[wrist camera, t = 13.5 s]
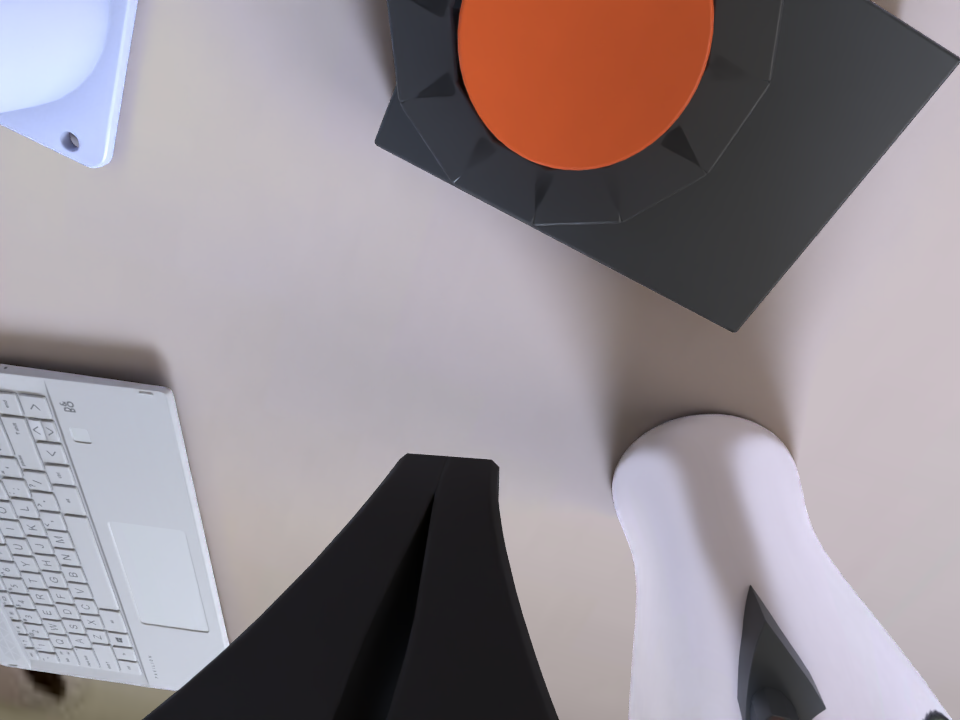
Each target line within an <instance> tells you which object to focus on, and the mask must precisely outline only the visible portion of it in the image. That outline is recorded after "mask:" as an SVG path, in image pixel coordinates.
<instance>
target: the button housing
mask: <svg viewBox="0 0 960 720" xmlns="http://www.w3.org/2000/svg"><path fill="white" fill-rule="evenodd" d="M461 3H462V0H387V7H388V16H389V24H390V32H391V41H392V49H393V57H394V66H395V74H396V82H397V84H396V87H395V89H394V92H393V95H392V97H391V100H390V102H389V105H388V107H387V110H386V113H385V115H384V118H383V120H382V123H381V126H380V128H379V131H378V133H377V136H376V139H375V144H376V145H377V146H379V147H381V148H382V149H384V150H386V151H388V152H390V153H392V154H394V155H396V156H398V157H400V158H402V159H403V160H405V161H407V162H409V163H411V164H413V165H415V166H417V167H419V168H421V169H422V170H424V171H426V172H428V173H430V174H432V175H434V176H436V177H438V178H440V179H441V180H443V181H445V182H447V183H449V184H451V185H453V186H455V187H457V188H459V189H461V190H462V191H464V192H466V193H468V194H470V195H472V196H474V197H476V198H478V199H480V200H481V201H483V202H485V203H487V204H489V205H491V206H493V207H495V208H497V209H499V210H500V211H502V212H504V213H506V214H508V215H510V216H512V217H514V218H516V219H518V220H520V221H521V222H523V223H525V224H527V225H529V226H531V227H533V228H535V229H537V230H539V231H540V232H542V233H544V234H546V235H548V236H550V237H552V238H554V239H556V240H558V241H560V242H561V243H563V244H565V245H567V246H569V247H571V248H573V249H575V250H577V251H579V252H580V253H582V254H584V255H586V256H588V257H590V258H592V259H594V260H596V261H598V262H599V263H601V264H603V265H605V266H607V267H609V268H611V269H613V270H615V271H617V272H619V273H620V274H622V275H624V276H626V277H628V278H630V279H632V280H634V281H636V282H638V283H639V284H641V285H643V286H645V287H647V288H649V289H651V290H653V291H655V292H657V293H659V294H660V295H662V296H664V297H666V298H668V299H670V300H672V301H674V302H676V303H678V304H679V305H681V306H683V307H685V308H687V309H689V310H691V311H693V312H695V313H697V314H698V315H700V316H702V317H704V318H706V319H708V320H710V321H712V322H714V323H716V324H718V325H719V326H721V327H723V328H725V329H727V330H729V331H731V332H734V333H735V332H737V331H738V330H739V328H740V327H741V326H742V325H743V324H744V322H745V321H746V320H747V319H748V318H749V316H750V315H751V314H752V313H753V312H754V310H755V309H756V308H757V307H758V306H759V304H760V303H761V302H762V301H763V300H764V298H765V297H766V296H767V295H768V293H769V292H770V291H771V290H772V289H773V287H774V286H775V285H776V284H777V283H778V281H779V280H780V279H781V278H782V277H783V275H784V274H785V273H786V272H787V271H788V269H789V268H790V267H791V266H792V265H793V263H794V262H795V261H796V260H797V259H798V257H799V256H800V255H801V254H802V253H803V251H804V250H805V249H806V248H807V247H808V245H809V244H810V243H811V242H812V240H813V239H814V238H815V237H816V236H817V234H818V233H819V232H820V231H821V230H822V228H823V227H824V226H825V225H826V224H827V222H828V221H829V220H830V219H831V218H832V216H833V215H834V214H835V213H836V212H837V210H838V209H839V208H840V207H841V206H842V204H843V203H844V202H845V201H846V200H847V198H848V197H849V196H850V195H851V193H852V192H853V191H854V190H855V189H856V187H857V186H858V185H859V184H860V183H861V181H862V180H863V179H864V178H865V177H866V175H867V174H868V173H869V172H870V171H871V169H872V168H873V167H874V166H875V165H876V163H877V162H878V161H879V160H880V159H881V157H882V156H883V155H884V154H885V153H886V151H887V150H888V149H889V148H890V146H891V145H892V144H893V143H894V142H895V140H896V139H897V138H898V137H899V136H900V134H901V133H902V132H903V131H904V130H905V128H906V127H907V126H908V125H909V124H910V122H911V121H912V120H913V119H914V118H915V116H916V115H917V114H918V113H919V112H920V110H921V109H922V108H923V107H924V106H925V104H926V103H927V102H928V101H929V100H930V98H931V97H932V96H933V95H934V93H935V92H936V91H937V90H938V89H939V87H940V86H941V85H942V84H943V83H944V81H945V80H946V79H947V78H948V77H949V75H950V74H951V73H952V72H953V71H954V69H955V68H956V67H957V66H958V65H959V63H960V58H959V57H958V56H956V55H955V54H953V53H952V52H950V51H949V50H947V49H946V48H944V47H942V46H941V45H939V44H938V43H936V42H935V41H933V40H931V39H930V38H928V37H927V36H925V35H924V34H922V33H920V32H919V31H917V30H916V29H914V28H913V27H911V26H909V25H908V24H906V23H905V22H903V21H902V20H900V19H899V18H897V17H895V16H894V15H892V14H891V13H889V12H888V11H886V10H884V9H883V8H881V7H880V6H878V5H877V4H875V3H873V2H872V1H870V0H713V5H714V27H713V37H712V43H711V49H710V54H709V57H708V61H707V64H706V68H705V71H704V73H703V76H702V78H701V80H700V83H699V85H698V88H697V89H696V91H695V93H694V95H693V97H692V98H691V100H690V102H689V104H688V105H687V106H686V108H685V109H684V111H683V112H682V113H681V115H680V116H679V118H678V119H677V120H676V121H675V122H674V123H673V124H672V126H671V127H670V128H669V129H668V130H667V131H666V132H665V133H664V134H663V135H661V136H660V137H659V138H658V139H657V140H656V141H655V142H653V143H652V144H651V145H649V146H648V147H646V148H645V149H643V150H642V151H640V152H639V153H637V154H635V155H633V156H631V157H629V158H627V159H625V160H623V161H620V162H618V163H615V164H612V165H609V166H605V167H601V168H596V169H588V170H562V169H556V168H550V167H547V166H543V165H540V164H537V163H534V162H532V161H530V160H528V159H526V158H523V157H522V156H520V155H518V154H517V153H515V152H514V151H512V150H510V149H509V148H508V147H507V146H505V145H504V144H503V143H502V142H501V141H499V140H498V139H497V138H496V137H495V135H494V134H493V133H492V132H491V131H490V130H489V129H488V128H487V126H486V125H485V124H484V122H483V121H482V119H481V118H480V117H479V115H478V113H477V112H476V110H475V108H474V106H473V104H472V102H471V100H470V98H469V95H468V93H467V90H466V87H465V85H464V81H463V77H462V73H461V69H460V63H459V56H458V33H457V32H458V22H459V13H460V8H461Z"/></svg>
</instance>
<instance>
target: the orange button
mask: <svg viewBox="0 0 960 720" xmlns="http://www.w3.org/2000/svg"><path fill="white" fill-rule="evenodd" d="M713 27H714V5H713V0H462V3H461V8H460V13H459V22H458V32H457V33H458V56H459V63H460V69H461V73H462V77H463V81H464V85H465V87H466V90H467V93H468V95H469V98H470V100H471V102H472V104H473V106H474V108H475V110H476V112H477V113H478V115H479V117H480V118H481V119H482V121H483V122H484V124H485V125H486V126H487V128H488V129H489V130H490V131H491V132H492V133H493V134H494V135H495V137H496V138H497V139H498V140H499V141H501V142H502V143H503V144H504V145H505V146H507V147H508V148H509V149H510V150H512V151H514V152H515V153H517V154H518V155H520V156H522V157H523V158H526V159H528V160H530V161H532V162H534V163H537V164H540V165H543V166H547V167H550V168H556V169H562V170H588V169H596V168H601V167H605V166H609V165H612V164H615V163H618V162H620V161H623V160H625V159H627V158H629V157H631V156H633V155H635V154H637V153H639V152H640V151H642V150H643V149H645V148H646V147H648V146H649V145H651V144H652V143H653V142H655V141H656V140H657V139H658V138H659V137H660V136H661V135H663V134H664V133H665V132H666V131H667V130H668V129H669V128H670V127H671V126H672V124H673V123H674V122H675V121H676V120H677V119H678V118H679V116H680V115H681V113H682V112H683V111H684V109H685V108H686V106H687V105H688V104H689V102H690V100H691V98H692V97H693V95H694V93H695V91H696V89H697V88H698V85H699V83H700V80H701V78H702V76H703V73H704V71H705V68H706V64H707V61H708V57H709V54H710V49H711V43H712V37H713Z"/></svg>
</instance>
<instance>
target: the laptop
mask: <svg viewBox="0 0 960 720" xmlns="http://www.w3.org/2000/svg"><path fill="white" fill-rule="evenodd" d="M228 646H229V642H228V638H227V633H226V629H225V624H224V620H223V615H222V611H221V606H220V602H219V597H218V593H217V588H216V584H215V579H214V575H213V570H212V566H211V561H210V557H209V552H208V548H207V543H206V539H205V534H204V530H203V525H202V521H201V516H200V512H199V507H198V503H197V498H196V494H195V489H194V485H193V480H192V476H191V471H190V467H189V462H188V458H187V453H186V449H185V444H184V440H183V435H182V431H181V426H180V422H179V417H178V413H177V409H176V404H175V400H174V395H173V392H172V391H171V389H169V388H167V387H162V386H156V385H149V384H142V383H135V382H127V381H120V380H113V379H106V378H99V377H92V376H85V375H78V374H71V373H64V372H56V371H49V370H42V369H35V368H28V367H20V366H13V365H6V364H0V664H1V665H3V666H8V667H15V668H21V669H28V670H35V671H42V672H49V673H55V674H62V675H69V676H76V677H83V678H90V679H96V680H103V681H110V682H117V683H124V684H131V685H137V686H144V687H151V688H158V689H165V690H172V691H178V690H179V689H180V688H181V687H183V686H184V685H185V684H186V683H187V682H188V681H189V680H191V679H192V678H193V677H194V676H195V675H196V674H197V673H199V672H200V671H201V670H202V669H203V668H204V667H205V666H207V665H208V664H209V663H210V662H211V661H212V660H213V659H215V658H216V657H217V656H218V655H219V654H220V653H221V652H222V651H223V650H225V649H226V648H227V647H228Z"/></svg>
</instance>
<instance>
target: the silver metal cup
mask: <svg viewBox="0 0 960 720" xmlns="http://www.w3.org/2000/svg"><path fill="white" fill-rule="evenodd" d="M612 497H613V503H614V507H615V510H616V513H617V516H618V519H619V521H620V524H621V526H622V529H623V531H624V534H625V537H626V539H627V542H628V544H629V547H630V551H631V554H632V558H633V563H634V568H635V578H636V612H635V629H634V642H633V654H632V668H631V683H630V698H629V713H628V720H952V718H951V717H950V715H949V714H948V713H947V711H946V710H945V708H944V707H943V706H942V704H941V703H940V701H939V700H938V699H937V697H936V696H935V694H934V693H933V691H932V690H931V689H930V687H929V686H928V684H927V683H926V682H925V680H924V679H923V677H922V676H921V675H920V673H919V672H918V671H917V670H916V668H915V667H914V666H913V664H912V663H911V662H910V661H909V659H908V658H907V657H906V655H905V654H904V653H903V652H902V650H901V649H900V648H899V646H898V645H897V644H896V643H895V641H894V640H893V639H892V637H891V636H890V635H889V634H888V632H887V631H886V630H885V628H884V627H883V626H882V625H881V623H880V622H879V621H878V620H877V618H876V617H875V616H874V615H873V613H872V612H871V611H870V609H869V608H868V607H867V606H866V604H865V603H864V602H863V601H862V599H861V598H860V597H859V596H858V594H857V593H856V592H855V591H854V589H853V588H852V587H851V586H850V584H849V583H848V582H847V580H846V579H845V578H844V576H843V575H842V574H841V572H840V571H839V570H838V568H837V567H836V566H835V564H834V563H833V562H832V560H831V559H830V558H829V556H828V555H827V553H826V551H825V550H824V548H823V546H822V545H821V543H820V541H819V540H818V538H817V536H816V534H815V531H814V529H813V527H812V525H811V522H810V519H809V516H808V513H807V509H806V504H805V500H804V495H803V490H802V486H801V481H800V477H799V474H798V470H797V467H796V464H795V462H794V459H793V457H792V455H791V453H790V452H789V450H788V449H787V447H786V446H785V445H784V444H783V443H782V441H781V440H780V439H779V438H778V437H777V436H776V435H774V434H773V433H772V432H770V431H769V430H768V429H766V428H765V427H763V426H761V425H759V424H757V423H755V422H753V421H750V420H747V419H744V418H741V417H736V416H731V415H724V414H698V415H691V416H685V417H681V418H677V419H674V420H671V421H668V422H666V423H663V424H661V425H659V426H657V427H655V428H653V429H651V430H649V431H648V432H646V433H645V434H643V435H642V436H641V437H639V438H638V439H637V440H636V441H635V442H634V443H633V444H632V445H631V446H630V447H629V448H628V449H627V450H626V451H625V453H624V454H623V456H622V457H621V459H620V460H619V462H618V464H617V467H616V469H615V473H614V477H613V482H612Z"/></svg>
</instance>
